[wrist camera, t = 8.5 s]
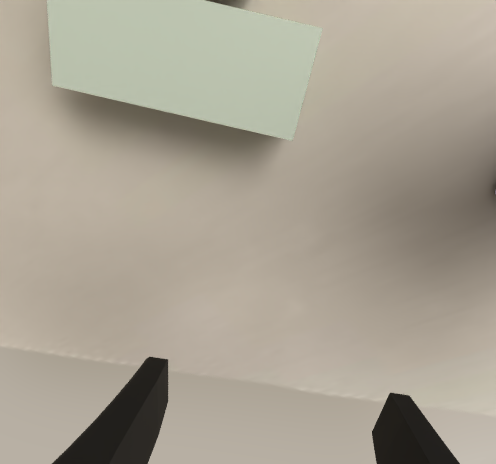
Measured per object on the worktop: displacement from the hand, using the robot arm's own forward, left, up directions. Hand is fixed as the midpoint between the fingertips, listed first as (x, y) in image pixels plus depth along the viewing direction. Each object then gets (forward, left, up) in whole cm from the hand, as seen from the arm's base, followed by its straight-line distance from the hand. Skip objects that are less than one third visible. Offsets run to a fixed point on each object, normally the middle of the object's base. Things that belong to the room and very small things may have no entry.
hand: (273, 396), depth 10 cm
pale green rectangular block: (+6, -9, -10) cm, 15 cm away
